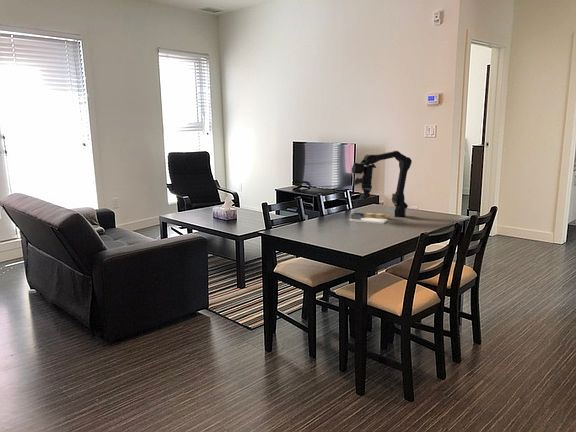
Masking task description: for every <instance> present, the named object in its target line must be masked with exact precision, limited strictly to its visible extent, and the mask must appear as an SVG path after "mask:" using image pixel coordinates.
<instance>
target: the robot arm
mask: <svg viewBox="0 0 576 432" xmlns="http://www.w3.org/2000/svg"><path fill="white" fill-rule="evenodd" d="M393 158H394V159H395V160H396V161H398V167H399V174H398V180H397V186H396V190H395V193H392V194H391V196H392V197H391V202H392V204H393V205H394V207H395V209H394V218H406V217H407V209H408V206H409V205H408V203H406V202H405V193H404V192H405V186H406V182H407V181H406V180H407V175H408V171H409V169H410V168H411V165H412V162H413V161H412V159H411V158H410V157H407V156H406V155H404V154H402V153H401V152H400V151H398V150H393V151H388V152H383V153H378V154H365V155H364V157H363V159H362V160H361V161H360V163H358V162H353V164H352V167H351V172H352V173H351V174H355V175H357V174H358V175H362V177H356V178H355V179H353V183H354V185H355V186H356V185H360V184H361V185H360V187H361V189H362V191H363V199H364V200H367V199H368V196H369V195H370V192H371V191H372V188H373V186H372V180H373V170H374V169H377V166H376V165H375V164H376V163H377V162H379V161H383V160H384V161H385V160H388V159H393Z"/></svg>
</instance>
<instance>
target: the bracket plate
mask: <svg viewBox="0 0 576 432" xmlns="http://www.w3.org/2000/svg"><path fill="white" fill-rule="evenodd" d="M349 222H356V223H358V222H359V223H368V224H378V225H379V224H380V225H385V224H386V222H388V219H377V218H364V213H363V212H353V213H351V214H350V218H349Z"/></svg>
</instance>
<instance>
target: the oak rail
mask: <svg viewBox="0 0 576 432" xmlns="http://www.w3.org/2000/svg"><path fill="white" fill-rule="evenodd" d="M362 213H364V218H377V219H387V220H389V219H390V217H391V214H389V213H378V212H377V213H376V212H362Z"/></svg>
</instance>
